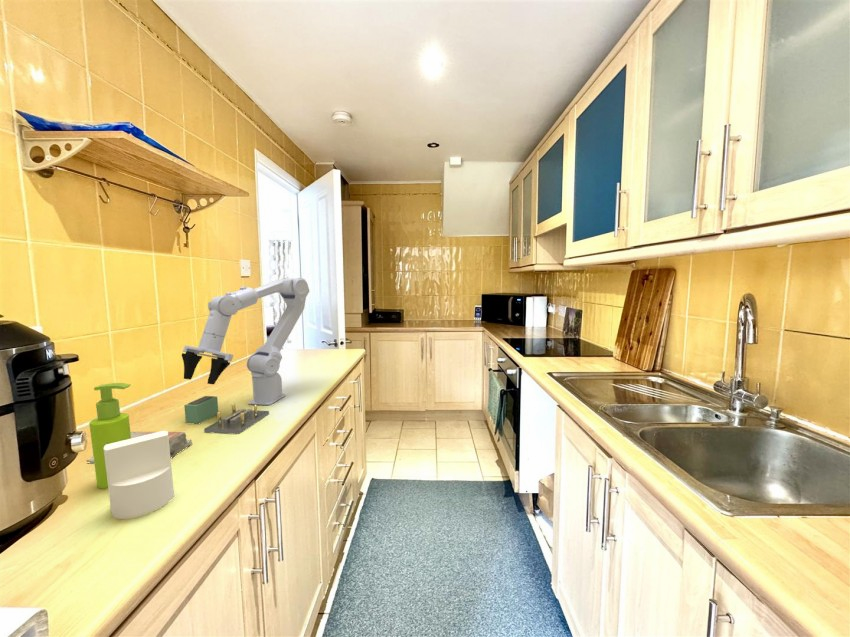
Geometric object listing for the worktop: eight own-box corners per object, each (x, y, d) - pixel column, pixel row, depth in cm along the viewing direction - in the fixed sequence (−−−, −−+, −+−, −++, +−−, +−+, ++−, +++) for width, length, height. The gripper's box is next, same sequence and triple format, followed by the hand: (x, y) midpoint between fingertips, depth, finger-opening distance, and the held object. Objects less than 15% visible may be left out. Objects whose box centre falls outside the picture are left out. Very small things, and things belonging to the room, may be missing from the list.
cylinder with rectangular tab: (170, 483, 72) (164, 425, 70) (178, 503, 65) (171, 439, 64) (110, 502, 65) (103, 439, 64) (112, 526, 59) (104, 457, 58)
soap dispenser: (129, 486, 71) (117, 387, 68) (89, 490, 69) (76, 390, 67) (147, 470, 76) (137, 379, 74) (110, 474, 75) (99, 381, 73)
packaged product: (192, 426, 89) (161, 445, 79) (194, 445, 89) (163, 466, 79) (122, 426, 89) (83, 445, 79) (124, 445, 90) (86, 465, 80)
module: (206, 413, 110) (205, 395, 109) (218, 413, 109) (217, 395, 108) (186, 423, 102) (184, 404, 101) (198, 424, 101) (196, 404, 101)
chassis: (238, 412, 109) (237, 399, 109) (269, 414, 108) (268, 400, 107) (204, 432, 95) (203, 417, 95) (238, 434, 94) (237, 418, 94)
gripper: (181, 328, 102) (165, 375, 99) (227, 336, 100) (212, 385, 97) (199, 333, 109) (184, 377, 106) (242, 341, 107) (228, 386, 104)
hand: (198, 381), depth 102 cm, fingers open, 7 cm apart
